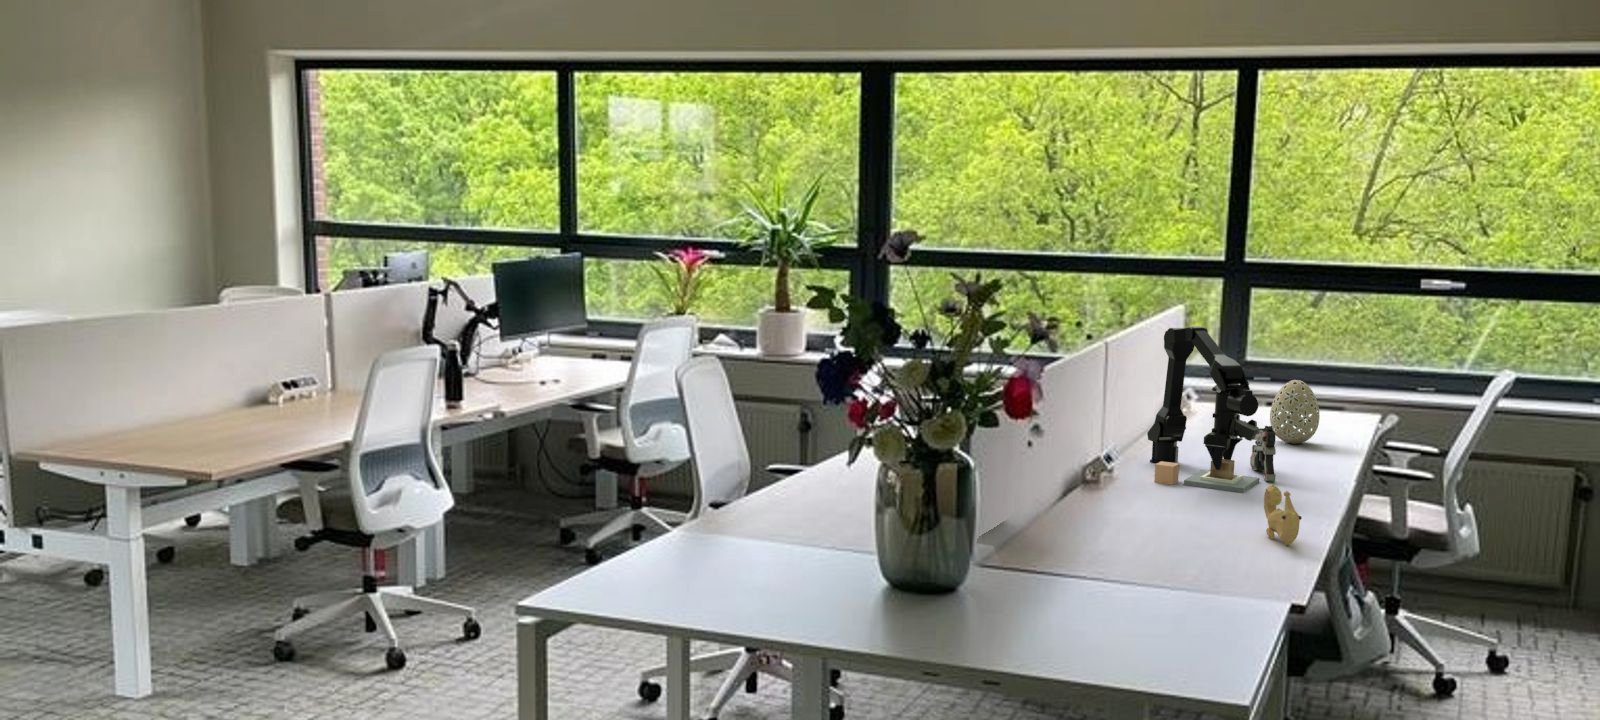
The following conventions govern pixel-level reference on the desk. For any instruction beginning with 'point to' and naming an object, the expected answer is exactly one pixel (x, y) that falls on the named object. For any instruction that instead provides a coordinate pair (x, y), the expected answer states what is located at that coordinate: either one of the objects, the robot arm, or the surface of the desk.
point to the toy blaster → (1264, 452)
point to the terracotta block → (1166, 472)
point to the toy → (1280, 515)
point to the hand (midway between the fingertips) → (1222, 466)
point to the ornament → (1294, 412)
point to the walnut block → (1223, 470)
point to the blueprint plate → (1221, 482)
